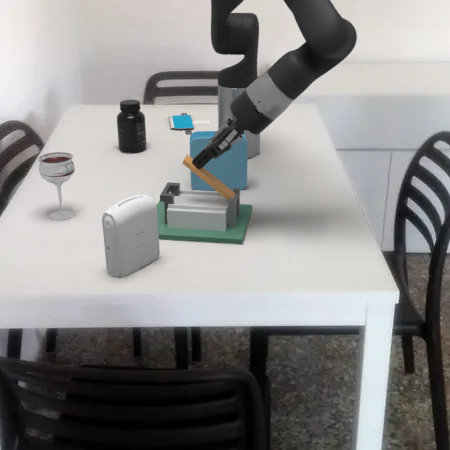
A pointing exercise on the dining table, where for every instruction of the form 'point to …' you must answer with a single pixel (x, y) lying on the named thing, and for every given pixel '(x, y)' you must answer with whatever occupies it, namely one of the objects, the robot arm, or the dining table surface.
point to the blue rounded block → (220, 163)
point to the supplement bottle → (131, 127)
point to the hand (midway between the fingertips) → (196, 164)
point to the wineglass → (57, 176)
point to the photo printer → (130, 234)
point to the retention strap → (210, 179)
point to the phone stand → (185, 122)
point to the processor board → (204, 234)
